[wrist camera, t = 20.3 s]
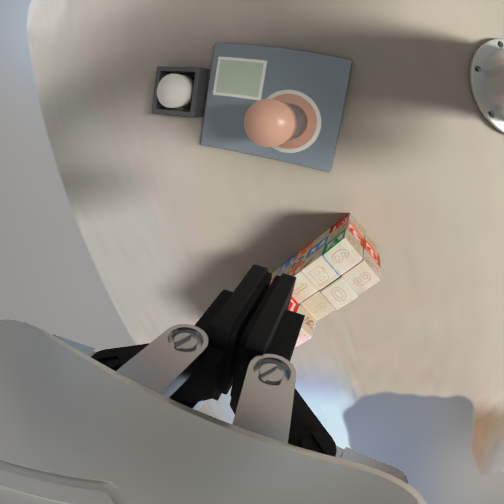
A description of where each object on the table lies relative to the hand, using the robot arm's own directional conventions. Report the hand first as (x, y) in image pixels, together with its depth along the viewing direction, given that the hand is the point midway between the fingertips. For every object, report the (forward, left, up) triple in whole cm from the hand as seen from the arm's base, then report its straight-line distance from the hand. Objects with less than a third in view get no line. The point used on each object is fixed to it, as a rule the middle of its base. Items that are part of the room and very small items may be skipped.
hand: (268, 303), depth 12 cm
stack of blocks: (+1, +15, -30) cm, 33 cm away
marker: (+6, -5, -28) cm, 29 cm away
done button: (+21, -7, -28) cm, 36 cm away
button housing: (+21, -7, -29) cm, 37 cm away
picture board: (+9, -7, -29) cm, 31 cm away
